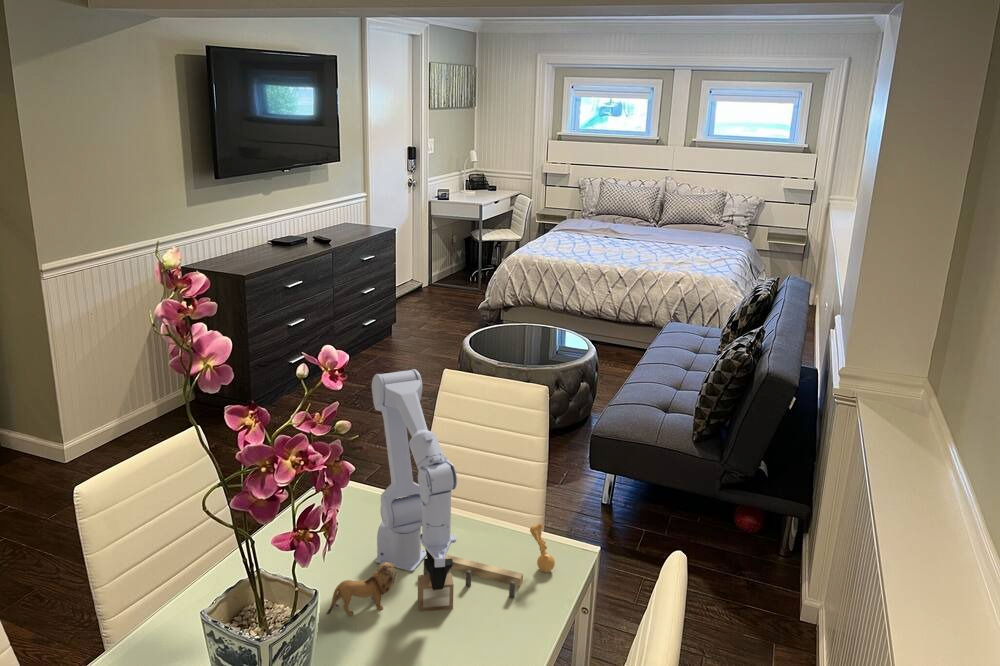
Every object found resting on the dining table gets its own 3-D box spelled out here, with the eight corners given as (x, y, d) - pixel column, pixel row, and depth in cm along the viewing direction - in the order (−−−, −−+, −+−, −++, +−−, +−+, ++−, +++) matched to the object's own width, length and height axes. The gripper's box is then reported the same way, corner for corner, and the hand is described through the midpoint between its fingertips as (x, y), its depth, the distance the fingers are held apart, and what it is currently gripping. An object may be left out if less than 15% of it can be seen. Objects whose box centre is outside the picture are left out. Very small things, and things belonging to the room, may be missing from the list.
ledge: (422, 575, 172) (422, 561, 171) (435, 559, 178) (435, 546, 177) (513, 598, 166) (514, 584, 164) (523, 581, 171) (523, 567, 170)
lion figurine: (391, 591, 166) (391, 555, 164) (400, 606, 162) (400, 568, 159) (323, 609, 160) (321, 571, 157) (329, 624, 156) (328, 586, 153)
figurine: (557, 581, 172) (560, 533, 168) (530, 582, 171) (533, 534, 168) (550, 559, 180) (554, 513, 176) (525, 560, 179) (527, 514, 176)
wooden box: (419, 612, 160) (419, 587, 159) (417, 599, 164) (417, 575, 162) (453, 609, 162) (453, 584, 160) (450, 597, 166) (451, 572, 164)
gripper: (461, 537, 151) (459, 597, 155) (452, 500, 164) (450, 555, 168) (424, 540, 150) (423, 600, 154) (418, 501, 163) (418, 558, 167)
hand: (435, 577), depth 161 cm, fingers open, 7 cm apart
